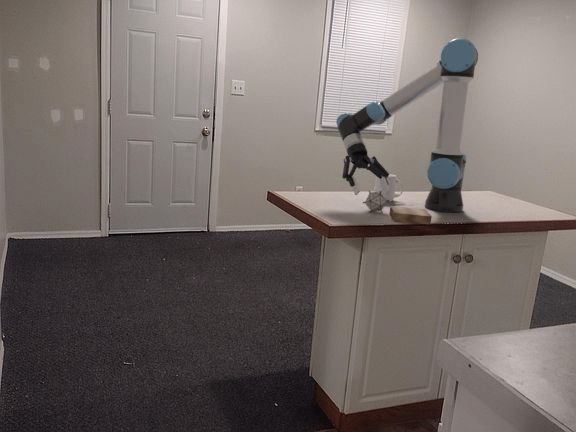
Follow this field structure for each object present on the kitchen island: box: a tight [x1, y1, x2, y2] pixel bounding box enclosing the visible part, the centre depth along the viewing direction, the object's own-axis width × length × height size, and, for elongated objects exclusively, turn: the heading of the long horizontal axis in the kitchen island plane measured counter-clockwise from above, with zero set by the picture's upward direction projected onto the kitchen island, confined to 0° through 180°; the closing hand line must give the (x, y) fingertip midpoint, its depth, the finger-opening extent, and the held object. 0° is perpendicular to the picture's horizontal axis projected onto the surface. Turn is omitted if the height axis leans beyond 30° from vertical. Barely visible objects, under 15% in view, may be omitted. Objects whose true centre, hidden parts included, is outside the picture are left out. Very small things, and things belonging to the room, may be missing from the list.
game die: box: [362, 190, 390, 214], centre depth 199 cm, size 9×8×10 cm
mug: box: [373, 173, 404, 202], centre depth 224 cm, size 9×12×11 cm
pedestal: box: [388, 205, 433, 225], centre depth 192 cm, size 13×12×3 cm
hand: (372, 192), depth 199 cm, fingers open, 13 cm apart
